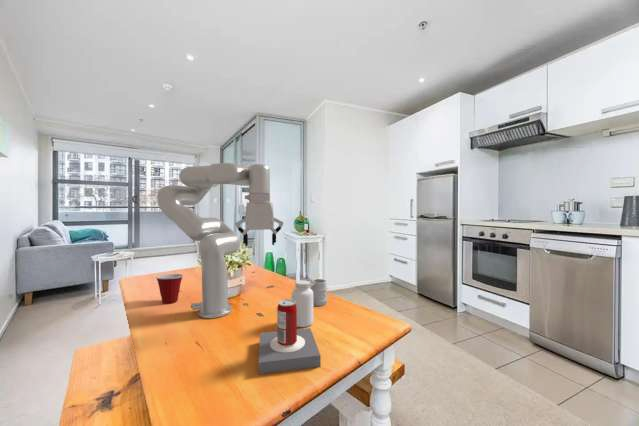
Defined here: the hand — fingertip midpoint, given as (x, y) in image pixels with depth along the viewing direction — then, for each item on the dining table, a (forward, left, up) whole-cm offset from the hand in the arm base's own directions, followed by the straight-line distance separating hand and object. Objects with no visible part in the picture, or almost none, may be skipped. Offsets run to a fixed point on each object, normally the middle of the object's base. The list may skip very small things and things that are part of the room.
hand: (260, 245), depth 97 cm
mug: (+23, +12, -28) cm, 39 cm away
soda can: (+8, -24, -25) cm, 36 cm away
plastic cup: (-40, +29, -28) cm, 57 cm away
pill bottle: (+15, -5, -28) cm, 33 cm away
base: (+8, -24, -28) cm, 38 cm away
